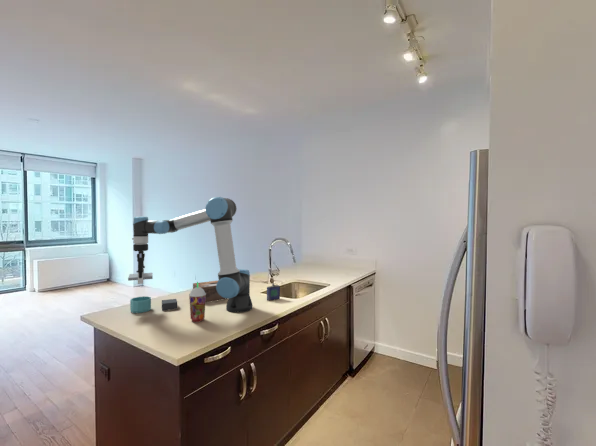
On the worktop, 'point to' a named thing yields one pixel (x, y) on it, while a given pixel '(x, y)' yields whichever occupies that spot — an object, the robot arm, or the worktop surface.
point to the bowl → (140, 304)
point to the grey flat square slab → (135, 276)
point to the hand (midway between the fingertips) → (140, 281)
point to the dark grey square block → (169, 304)
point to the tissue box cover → (209, 290)
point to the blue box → (273, 292)
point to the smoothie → (197, 304)
